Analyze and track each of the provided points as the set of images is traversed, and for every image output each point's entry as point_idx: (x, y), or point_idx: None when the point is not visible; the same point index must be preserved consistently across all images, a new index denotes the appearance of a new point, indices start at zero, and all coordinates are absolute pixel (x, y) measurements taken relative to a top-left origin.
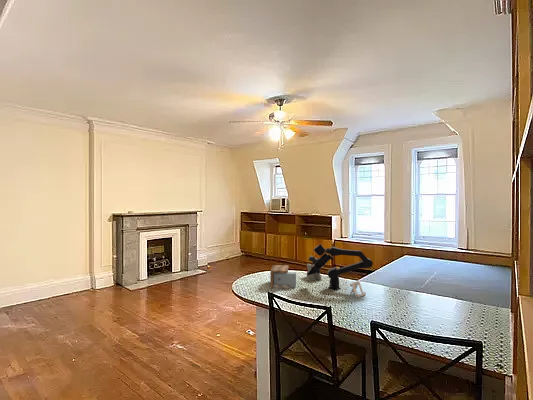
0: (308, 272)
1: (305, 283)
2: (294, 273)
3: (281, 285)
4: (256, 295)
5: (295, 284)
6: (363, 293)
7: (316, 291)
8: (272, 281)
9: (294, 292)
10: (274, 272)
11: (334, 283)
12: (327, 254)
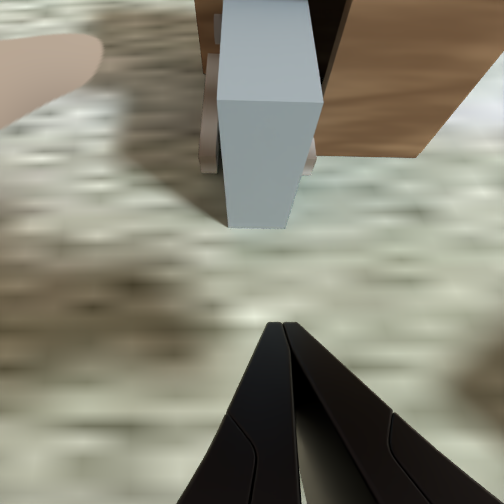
0: (270, 357)
1: (419, 328)
2: (248, 80)
3: (203, 102)
4: (20, 10)
5: (227, 207)
6: None
7: (68, 494)
8: (196, 13)
9: (56, 219)
10: None
11: None
12: None
